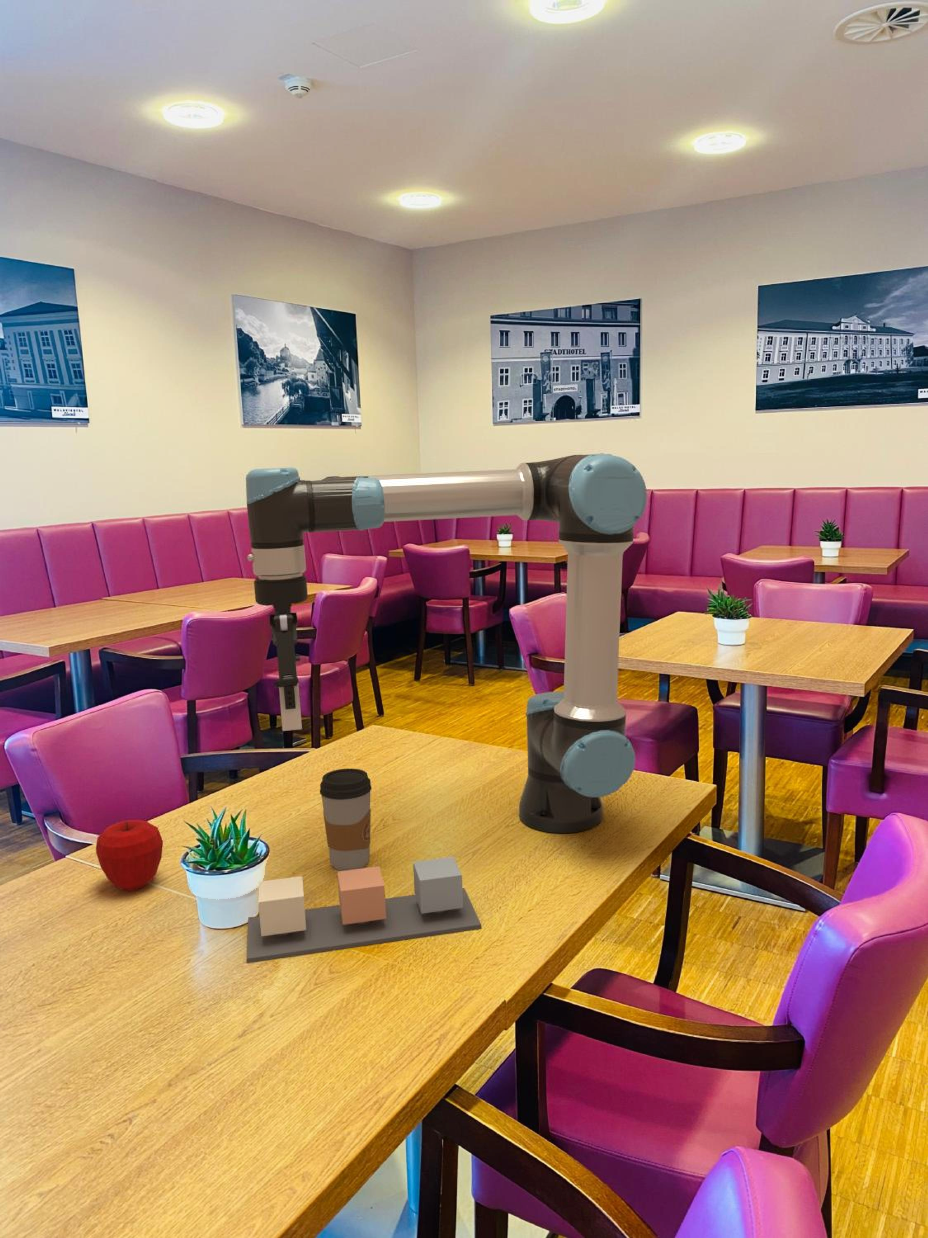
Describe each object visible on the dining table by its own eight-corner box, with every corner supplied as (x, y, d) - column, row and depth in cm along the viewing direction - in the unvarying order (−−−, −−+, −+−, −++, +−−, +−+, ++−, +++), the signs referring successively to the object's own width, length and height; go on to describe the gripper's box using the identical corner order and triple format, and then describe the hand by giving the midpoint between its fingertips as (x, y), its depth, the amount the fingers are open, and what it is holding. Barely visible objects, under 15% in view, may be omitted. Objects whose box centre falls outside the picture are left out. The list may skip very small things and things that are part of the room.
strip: (464, 891, 134) (463, 879, 134) (481, 928, 123) (480, 915, 123) (248, 921, 127) (247, 908, 127) (246, 963, 117) (245, 949, 116)
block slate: (454, 888, 131) (453, 856, 130) (463, 907, 125) (462, 875, 124) (414, 893, 129) (413, 862, 129) (421, 913, 124) (419, 880, 123)
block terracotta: (380, 898, 128) (378, 866, 128) (386, 918, 123) (384, 885, 122) (339, 903, 127) (337, 871, 126) (342, 925, 121) (340, 891, 121)
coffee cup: (366, 876, 140) (361, 787, 137) (316, 873, 141) (311, 784, 139) (381, 853, 148) (377, 768, 145) (334, 850, 149) (329, 766, 147)
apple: (179, 877, 142) (173, 813, 140) (134, 905, 133) (127, 837, 131) (133, 867, 146) (126, 804, 144) (86, 893, 137) (79, 827, 135)
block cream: (304, 908, 126) (302, 876, 125) (306, 930, 120) (303, 896, 119) (261, 914, 125) (258, 881, 124) (261, 936, 119) (258, 902, 118)
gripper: (255, 567, 139) (266, 696, 143) (251, 589, 115) (264, 744, 119) (303, 564, 141) (313, 692, 145) (309, 585, 117) (320, 738, 121)
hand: (291, 716), depth 132 cm, fingers open, 13 cm apart
